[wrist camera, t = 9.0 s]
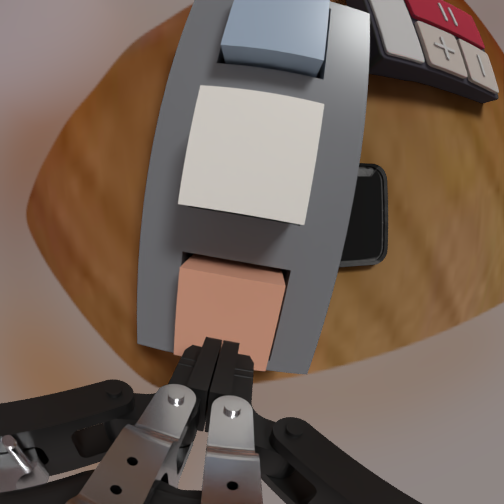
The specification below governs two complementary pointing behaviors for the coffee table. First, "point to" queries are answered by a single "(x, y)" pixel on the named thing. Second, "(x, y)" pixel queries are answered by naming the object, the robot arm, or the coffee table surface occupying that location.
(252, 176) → the white key
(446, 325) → the coffee table surface
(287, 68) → the slate key
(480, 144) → the coffee table surface
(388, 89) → the coffee table surface
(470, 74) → the calculator
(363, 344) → the coffee table surface
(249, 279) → the terracotta key
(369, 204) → the phone
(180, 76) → the key panel
